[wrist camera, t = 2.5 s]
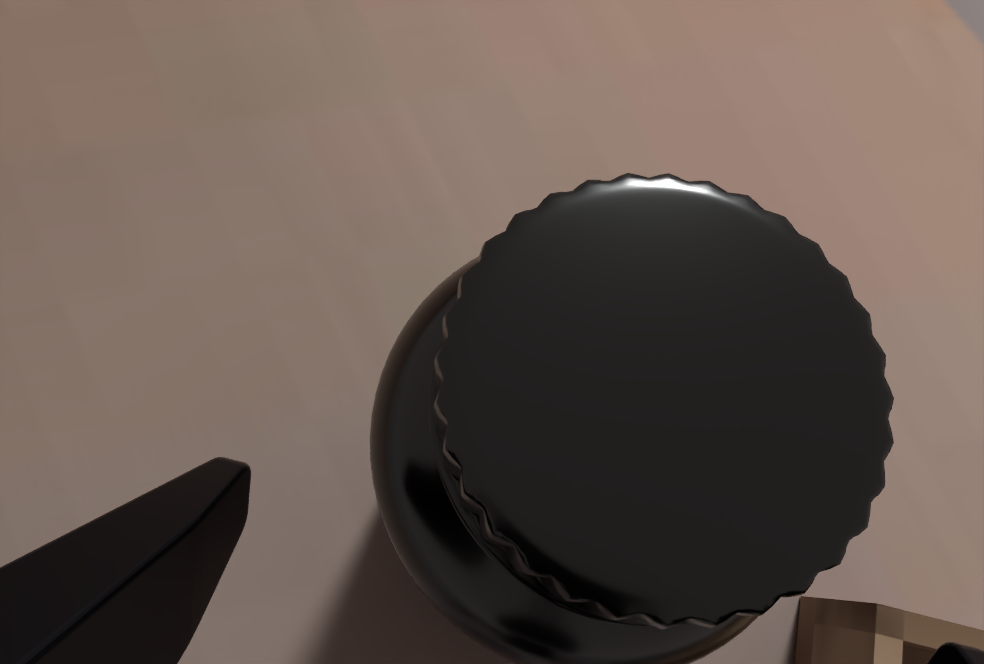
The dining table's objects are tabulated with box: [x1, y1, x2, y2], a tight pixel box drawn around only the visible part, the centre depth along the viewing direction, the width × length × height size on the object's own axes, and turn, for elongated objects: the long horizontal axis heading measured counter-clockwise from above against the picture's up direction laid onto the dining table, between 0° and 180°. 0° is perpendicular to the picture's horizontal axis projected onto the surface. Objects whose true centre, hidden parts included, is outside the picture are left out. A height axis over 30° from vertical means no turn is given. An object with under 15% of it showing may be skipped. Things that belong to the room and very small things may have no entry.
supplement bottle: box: [370, 173, 894, 664], centre depth 13 cm, size 7×7×12 cm
